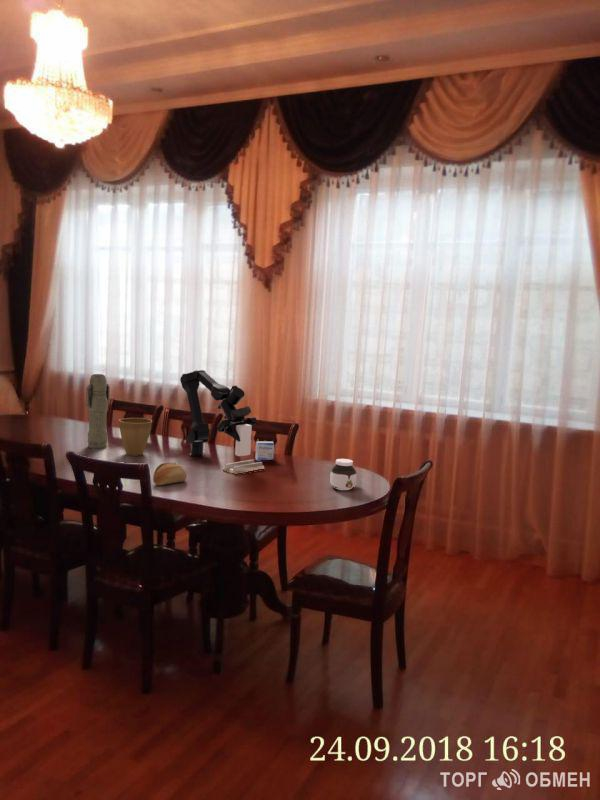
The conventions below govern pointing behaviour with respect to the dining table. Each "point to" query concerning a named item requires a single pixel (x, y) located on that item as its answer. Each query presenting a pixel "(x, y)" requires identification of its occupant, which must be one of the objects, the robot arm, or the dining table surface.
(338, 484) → the spread jar
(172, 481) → the bread roll
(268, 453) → the medicine box
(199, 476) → the dining table surface
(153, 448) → the dining table surface
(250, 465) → the track base
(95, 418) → the stone statue
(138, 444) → the plant pot
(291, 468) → the dining table surface
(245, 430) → the door panel
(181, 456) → the dining table surface
